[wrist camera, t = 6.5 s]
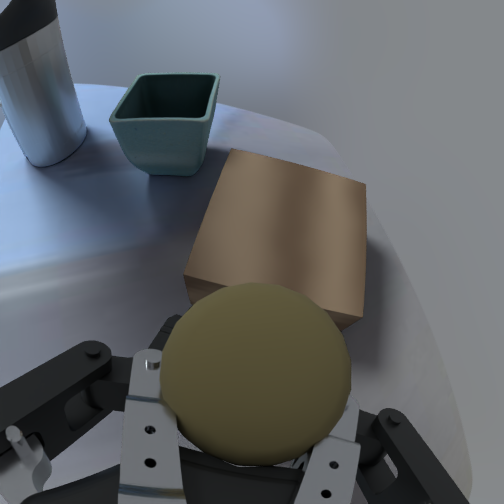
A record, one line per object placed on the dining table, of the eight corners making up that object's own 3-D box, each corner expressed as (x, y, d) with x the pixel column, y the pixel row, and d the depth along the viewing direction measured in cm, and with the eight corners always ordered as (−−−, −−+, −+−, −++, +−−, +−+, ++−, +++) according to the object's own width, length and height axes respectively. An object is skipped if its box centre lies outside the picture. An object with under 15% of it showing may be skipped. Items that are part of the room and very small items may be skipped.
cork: (281, 332, 18) (360, 244, 8) (292, 428, 15) (399, 461, 5) (180, 337, 17) (132, 251, 7) (187, 437, 14) (141, 500, 4)
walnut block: (190, 303, 24) (183, 274, 19) (228, 192, 30) (231, 148, 24) (331, 337, 24) (362, 317, 18) (342, 221, 29) (365, 184, 24)
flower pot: (147, 134, 33) (138, 72, 25) (218, 136, 34) (221, 72, 26) (126, 187, 29) (106, 121, 21) (209, 192, 29) (208, 120, 21)
